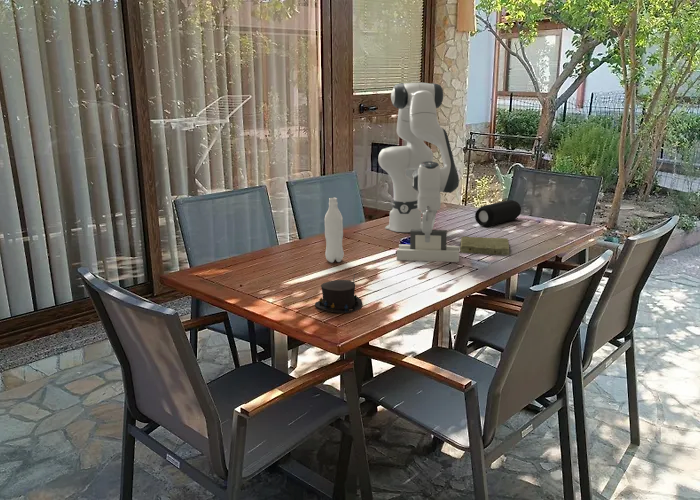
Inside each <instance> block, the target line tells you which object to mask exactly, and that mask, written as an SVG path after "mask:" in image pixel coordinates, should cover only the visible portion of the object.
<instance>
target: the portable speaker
mask: <svg viewBox="0 0 700 500" xmlns="http://www.w3.org/2000/svg"><path fill="white" fill-rule="evenodd" d="M521 213H522V206H521V204H520V203H519V202H517V200H513V199H508V200H504V201H499V202H494V203H491V204H485V205H482V206H480V207H478V209H477V210H476V212H475V213H474V219H475V221H476V222H477V224H478V225H480V226H482V227H491V226H494V225H495V226H496V225H499V224H502V223H506V222H510V221H513V220H516V219H518V217H519V216H520V214H521Z"/></svg>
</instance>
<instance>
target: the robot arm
mask: <svg viewBox="0 0 700 500" xmlns="http://www.w3.org/2000/svg"><path fill="white" fill-rule="evenodd" d="M391 90H392V91H391V93H390V99H391V104H392V106H393V107H395V109H398V112H397V122H396V123H397V124H396V134H397V136H398V137H399V138H400V139H401V140H403V141H405V142H407V143H406V145H401V146H399V145H398V146H395V145H394V146H389V147H385V148H382V149H381V150H380V152H379V154H378V155H377V156H378V159H377V162H378V165H379V166H380V168H381V169H382V170H383V171H385V172H386V173H387V175H388V176H389V177H390V179H391V182H392V188H393V189H392V190H393V199H392V209H391V210H390V211H389V218H388V219H389V221H388V225H386V226H385V229H386V230H390V231H391V232H397V233H410V231H411V229H415V230H422V232H423V233H425V242H430V233H431V232H432V230H434V229H433V228H434V225H435V220H436V218H437V216H436V215H437V214H438V211H439V210H441V199H442V198H441V196H442V195H441V193H448V194H451V193H453V192H454V191H455V190H457V188H459V184H460V177H459V173H458V170H457V167H456V164H455V161H454V160H455V159H454V156H453V151H452V148H451V144H450V139H449V136H448V133H447V131H446V129H444V128H443V127H441V125H440V124H439V121H438V114H437V109H438V108H440V107H441V105H443V101H444V90H443V87H442V86H441V85H440V84H437V83H434V82H433V83H428V82H421V81H419V82H407V83H403V82H400V83H396V84H395V85H393V87H392V89H391ZM425 142H427V143H430V144H432V145H434V146H436V147H437V148H438V150H439V152H440V156H441V160H442V163H443V164H442V165H443V167H440V164H439V163H438V162H436V161H433V160H434V153H433V151H432V149H431V148H430V146H428V145H427V144H426V143H425ZM413 170H414V171H413ZM407 171H413V172H412V174H411V176H412V177H410V176H408V175H407Z"/></svg>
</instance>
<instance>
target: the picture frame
mask: <svg viewBox="0 0 700 500" xmlns="http://www.w3.org/2000/svg"><path fill="white" fill-rule="evenodd" d="M447 233H448V230H444V229H443V230H442V229H432V232H431V233H430V242H425V233H423V232H422V230H415V229H411V231H410V232H409V235H410V236H409V238H410V239H409V240H410V241H409V243H410V244H409V245H410V249H421V250H446V246H447V240H448V239H447V236H448V235H447Z"/></svg>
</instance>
